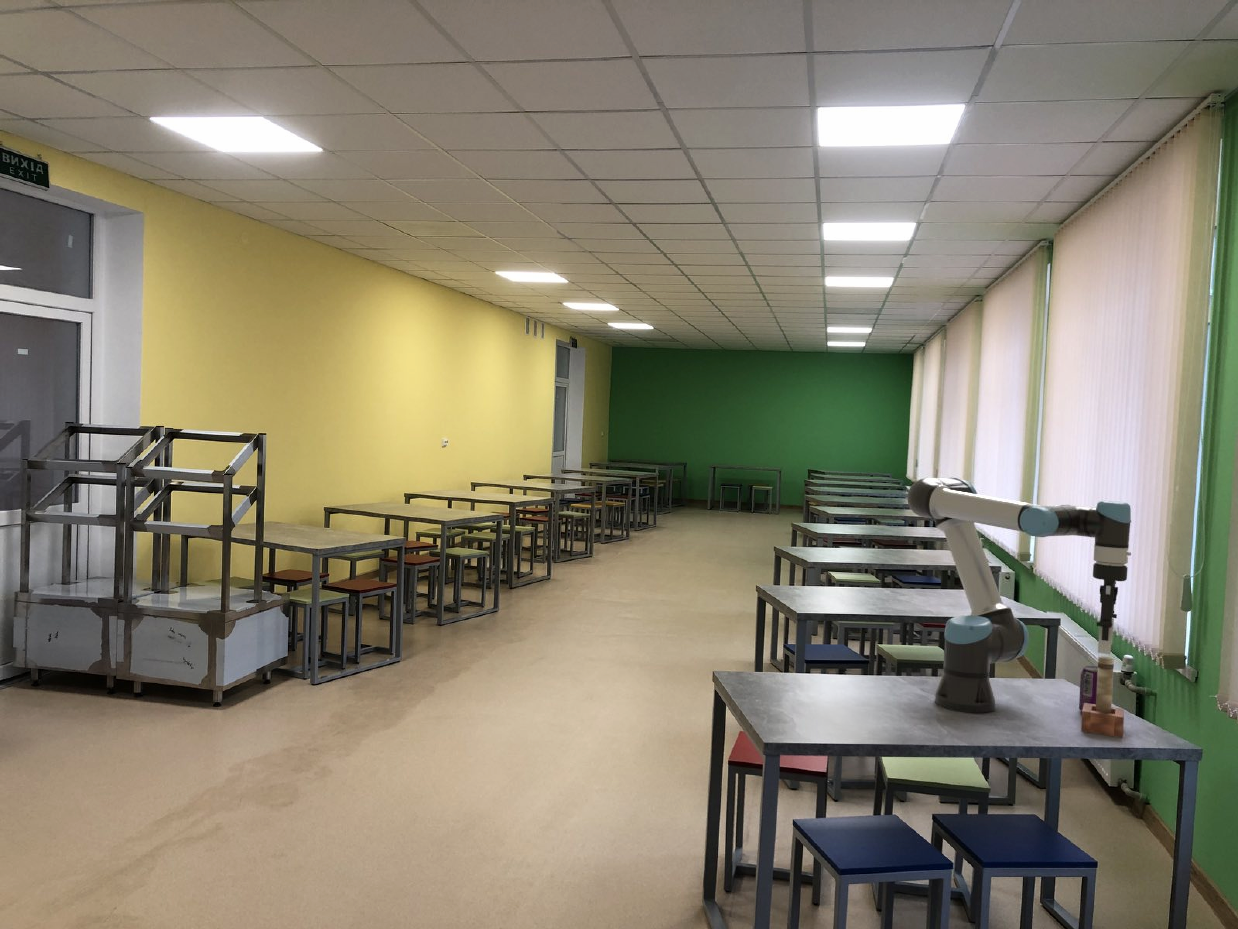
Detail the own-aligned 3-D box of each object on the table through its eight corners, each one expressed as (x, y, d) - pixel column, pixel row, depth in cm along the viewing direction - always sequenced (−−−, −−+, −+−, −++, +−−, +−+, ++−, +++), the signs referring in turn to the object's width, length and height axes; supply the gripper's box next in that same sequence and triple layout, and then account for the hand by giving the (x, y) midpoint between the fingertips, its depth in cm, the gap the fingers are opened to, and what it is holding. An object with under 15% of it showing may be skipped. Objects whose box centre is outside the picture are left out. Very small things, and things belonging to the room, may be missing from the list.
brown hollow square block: (1081, 731, 229) (1082, 711, 228) (1083, 722, 236) (1084, 702, 236) (1122, 738, 224) (1123, 717, 224) (1123, 728, 232) (1124, 709, 232)
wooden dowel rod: (1094, 730, 230) (1097, 658, 229) (1094, 726, 233) (1098, 655, 232) (1110, 733, 228) (1113, 660, 227) (1110, 729, 231) (1114, 658, 230)
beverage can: (1112, 718, 241) (1114, 673, 240) (1083, 716, 242) (1085, 670, 242) (1104, 711, 248) (1106, 666, 247) (1075, 708, 249) (1077, 664, 249)
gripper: (1126, 570, 217) (1121, 660, 217) (1128, 560, 238) (1123, 641, 239) (1090, 567, 220) (1085, 655, 221) (1096, 557, 242) (1091, 637, 243)
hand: (1105, 648), depth 230 cm, fingers open, 13 cm apart
